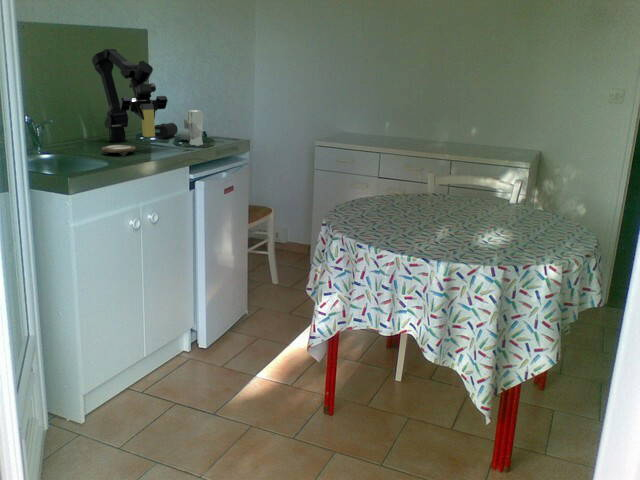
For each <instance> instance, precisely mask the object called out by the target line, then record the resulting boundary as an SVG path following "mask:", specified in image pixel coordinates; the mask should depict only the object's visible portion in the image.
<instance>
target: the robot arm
mask: <svg viewBox="0 0 640 480" xmlns="http://www.w3.org/2000/svg"><path fill="white" fill-rule="evenodd" d="M91 61H92V65H93V67H94V69H95V71H96V72H97V73H98V74H99V75H100V77H101V81H102V84H103V85H102V86H103V89H104V93H105V97H106V101H107V104H108V108H107V112H106V119H105V121H104V127H105V129H108V135H109V139H107V140H106V141H107V142H110V143H111V142H114V143H122V142H126V141H128V139H126V131H125V128H128V125H129V115H128V112H127V111H130V112H133V113H134V114H135V115H136V116H138V117H139V118H140V119H141V121H142V120H144V116H143V113H142V110H141V104H153V107H154V120H155V119H156V112H157V111H158V110H166V108H167V105H168V97H167V96H166V95H156V98H155V99H151V98H152V93H155V92H156V90H157V87H156V84H155V83H154V82H151V83H147V82H148V81H149V79H150V77H151V75H152V73H153V72H154V71H153V70H154V68H153V66H152V65H150V63H148V62H146V61H145V60H140V61H139V62H138V64H137V63H135V62H133V61H132V62H131V61H129V60H128V59H126V58H125V57H124V56H123V55H121V54H120V53H119V52H118V50H117V49H115V48H105V49H103V50H102V51H100V52H97V53H95V54H94V55H93V56H92V58H91ZM114 66H116V67H117V68H118V69H119V70H120V74H121V76H122V77H123V78H124V79H125V80H126V79H130V80H129V86H128V87H129V89H130V88H131V89H132V93H133V98H132V97H131V96H122V97H121V98H120V99H119V96H118V95H119V94H118V92H117V88H116V83H115V81H114V77H113V69H114Z"/></svg>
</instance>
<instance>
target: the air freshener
mask: <svg viewBox="0 0 640 480" xmlns="http://www.w3.org/2000/svg"><path fill="white" fill-rule="evenodd" d="M183 123H184V124H183V125H184V126H183V128H182V129H180V130H179V132H178V133H179V134H178V136H179V137H180V139H181V140H183V139H188V140H190V134H189V129H188V123H187V118H184V119H183ZM203 137H204V132H203V131H202V138H203Z"/></svg>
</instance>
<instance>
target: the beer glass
mask: <svg viewBox="0 0 640 480" xmlns="http://www.w3.org/2000/svg"><path fill="white" fill-rule="evenodd" d="M186 112H187V115H186V116H187V117H186V119H187V123H188V129H189V134H190V141H188V142H189V144H191V145H195V146H194V147H201V146H203V145H204V143H203V137H202V132H203V129H204V113H203V112H204V111H203V110H201V109H200V110H199V109H190V110H187V111H186ZM191 145H190V146H191ZM200 145H201V146H200Z"/></svg>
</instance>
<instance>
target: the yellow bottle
mask: <svg viewBox="0 0 640 480" xmlns="http://www.w3.org/2000/svg"><path fill="white" fill-rule="evenodd" d="M140 108H141V110H142V113H143V116H144V120H142V119H141V128H142V129H141V130H142V137H144V138H151V137H152V138H155V137H156V136H155V132H156V130H155V119H154V107H153V104H141V106H140Z"/></svg>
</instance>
